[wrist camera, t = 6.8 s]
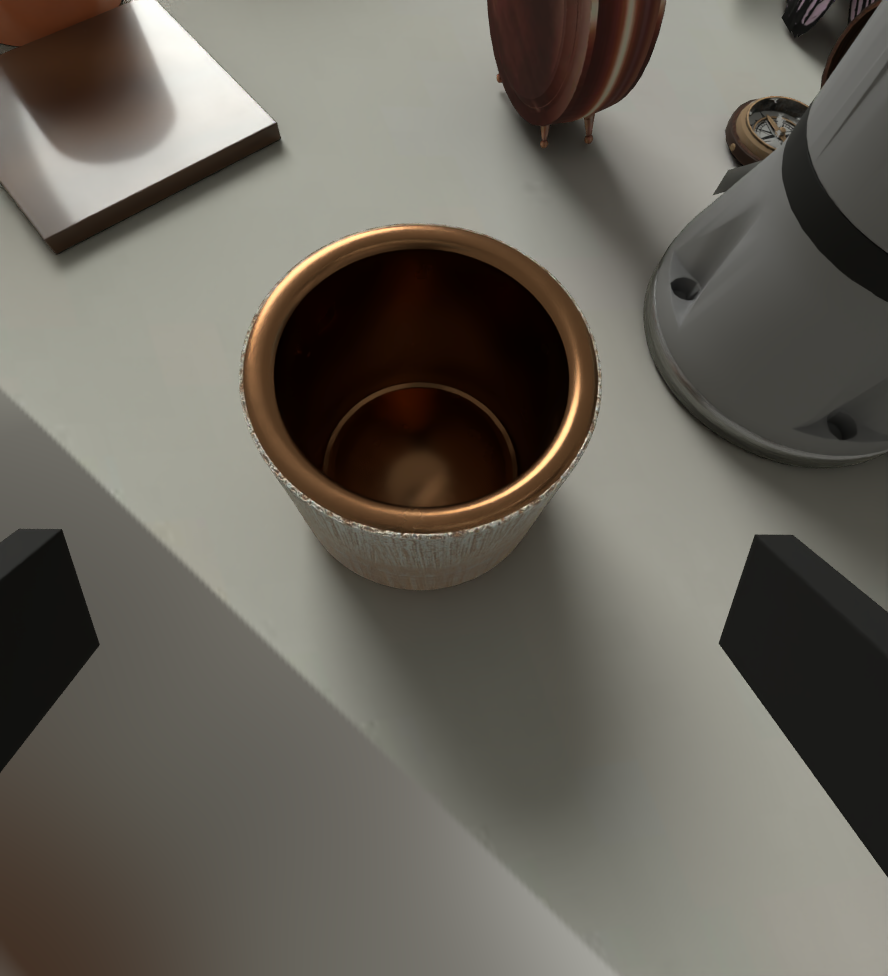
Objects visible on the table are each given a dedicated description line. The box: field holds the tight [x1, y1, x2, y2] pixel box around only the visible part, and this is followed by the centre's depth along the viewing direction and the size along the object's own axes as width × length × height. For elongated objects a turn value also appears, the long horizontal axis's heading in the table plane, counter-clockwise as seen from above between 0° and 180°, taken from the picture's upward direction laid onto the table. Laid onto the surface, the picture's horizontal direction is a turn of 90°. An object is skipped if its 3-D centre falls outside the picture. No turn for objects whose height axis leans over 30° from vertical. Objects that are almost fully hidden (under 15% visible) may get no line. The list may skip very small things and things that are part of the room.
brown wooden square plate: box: [0, 0, 281, 254], centre depth 30 cm, size 14×14×1 cm
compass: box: [725, 0, 882, 166], centre depth 29 cm, size 8×8×7 cm
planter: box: [239, 223, 602, 590], centre depth 20 cm, size 11×11×10 cm
